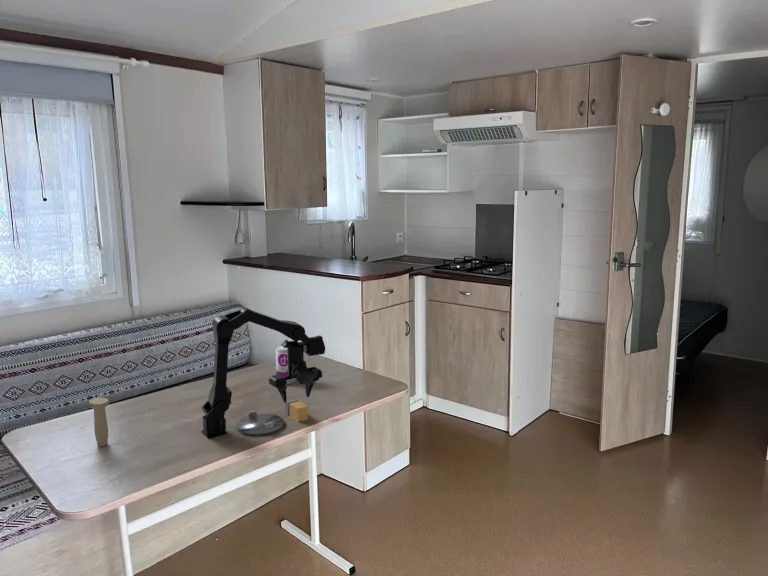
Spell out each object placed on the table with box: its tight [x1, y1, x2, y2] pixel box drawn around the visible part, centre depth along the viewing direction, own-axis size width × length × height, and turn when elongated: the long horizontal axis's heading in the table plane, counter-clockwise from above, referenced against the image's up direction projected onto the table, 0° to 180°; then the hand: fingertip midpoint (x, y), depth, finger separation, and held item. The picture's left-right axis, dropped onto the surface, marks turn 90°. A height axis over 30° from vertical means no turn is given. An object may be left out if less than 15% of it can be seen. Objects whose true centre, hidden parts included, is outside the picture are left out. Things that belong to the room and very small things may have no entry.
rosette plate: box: [236, 409, 285, 437], centre depth 205 cm, size 16×16×3 cm
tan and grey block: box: [284, 398, 309, 423], centre depth 213 cm, size 4×9×5 cm, turn 38°
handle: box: [88, 397, 110, 447], centre depth 189 cm, size 5×6×15 cm
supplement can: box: [275, 345, 297, 385], centre depth 248 cm, size 8×8×15 cm
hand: (296, 399), depth 211 cm, fingers open, 9 cm apart
